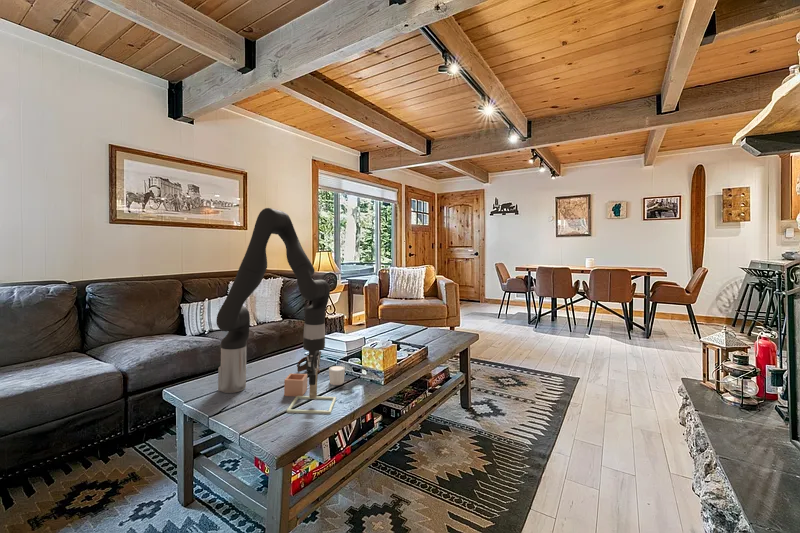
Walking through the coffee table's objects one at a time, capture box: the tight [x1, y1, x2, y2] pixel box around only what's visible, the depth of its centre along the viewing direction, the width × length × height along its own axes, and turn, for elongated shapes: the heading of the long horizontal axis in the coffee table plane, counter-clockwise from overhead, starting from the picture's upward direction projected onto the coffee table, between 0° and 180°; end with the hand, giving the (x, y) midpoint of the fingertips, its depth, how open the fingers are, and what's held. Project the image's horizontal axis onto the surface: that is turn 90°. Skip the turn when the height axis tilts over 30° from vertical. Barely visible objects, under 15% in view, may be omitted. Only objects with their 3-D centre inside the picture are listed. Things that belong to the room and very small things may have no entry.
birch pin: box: [308, 367, 318, 398], centre depth 126 cm, size 3×3×12 cm
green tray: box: [286, 395, 337, 415], centre depth 126 cm, size 15×12×2 cm
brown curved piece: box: [296, 355, 321, 374], centre depth 162 cm, size 12×10×8 cm
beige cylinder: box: [328, 365, 346, 386], centre depth 148 cm, size 7×7×7 cm
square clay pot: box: [283, 372, 309, 397], centre depth 137 cm, size 7×7×7 cm
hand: (313, 382), depth 126 cm, fingers closed on birch pin, 2 cm apart
